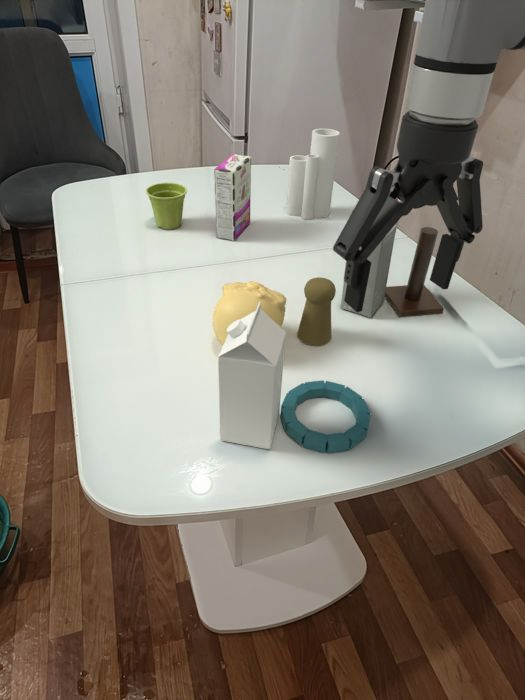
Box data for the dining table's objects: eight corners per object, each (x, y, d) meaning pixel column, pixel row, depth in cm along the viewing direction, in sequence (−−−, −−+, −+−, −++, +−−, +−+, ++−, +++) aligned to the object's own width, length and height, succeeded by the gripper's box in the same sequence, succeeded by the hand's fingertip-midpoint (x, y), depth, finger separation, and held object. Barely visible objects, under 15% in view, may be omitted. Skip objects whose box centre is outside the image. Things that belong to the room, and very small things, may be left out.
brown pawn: (325, 324, 93) (332, 271, 86) (335, 344, 89) (344, 289, 82) (293, 327, 92) (298, 274, 85) (302, 347, 88) (308, 292, 81)
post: (422, 289, 105) (441, 219, 95) (442, 313, 98) (465, 240, 88) (381, 292, 103) (396, 221, 94) (398, 317, 96) (416, 243, 87)
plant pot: (191, 231, 122) (189, 196, 116) (151, 234, 120) (147, 198, 114) (186, 215, 129) (184, 181, 123) (148, 218, 127) (144, 183, 121)
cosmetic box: (370, 319, 95) (386, 241, 85) (335, 307, 98) (347, 231, 88) (385, 298, 101) (402, 223, 91) (352, 288, 104) (364, 214, 94)
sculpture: (290, 332, 91) (295, 279, 84) (263, 371, 82) (266, 315, 76) (233, 315, 94) (233, 263, 88) (201, 351, 86) (198, 296, 79)
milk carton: (279, 414, 75) (288, 305, 63) (270, 450, 69) (277, 339, 57) (232, 406, 76) (232, 297, 64) (219, 441, 70) (217, 329, 58)
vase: (323, 206, 137) (333, 127, 124) (334, 217, 131) (344, 136, 119) (283, 209, 134) (289, 129, 122) (292, 221, 129) (299, 138, 116)
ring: (351, 385, 80) (353, 377, 79) (381, 446, 71) (383, 437, 70) (273, 394, 78) (274, 385, 77) (292, 457, 68) (293, 448, 67)
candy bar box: (231, 220, 128) (232, 152, 118) (250, 223, 126) (252, 155, 116) (214, 238, 119) (213, 167, 109) (234, 242, 118) (235, 171, 108)
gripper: (501, 99, 59) (451, 263, 72) (316, 114, 49) (297, 300, 62) (556, 115, 53) (491, 289, 67) (361, 135, 44) (330, 333, 57)
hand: (397, 295), depth 64 cm, fingers open, 13 cm apart
